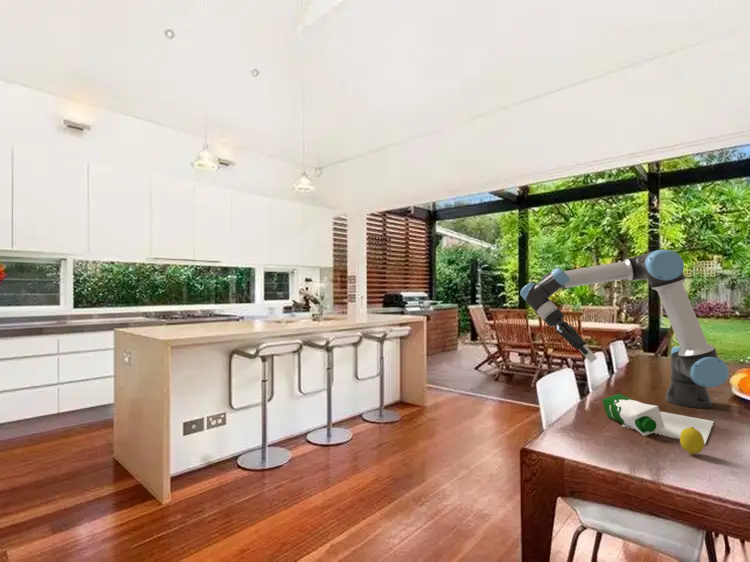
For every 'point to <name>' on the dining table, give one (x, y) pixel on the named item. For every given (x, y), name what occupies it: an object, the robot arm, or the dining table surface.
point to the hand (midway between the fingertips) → (594, 360)
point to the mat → (682, 425)
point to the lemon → (691, 440)
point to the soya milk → (634, 414)
